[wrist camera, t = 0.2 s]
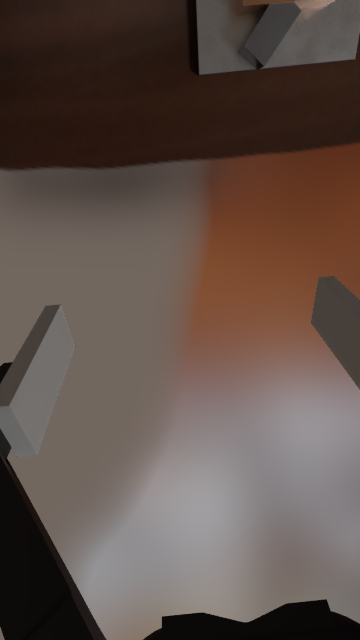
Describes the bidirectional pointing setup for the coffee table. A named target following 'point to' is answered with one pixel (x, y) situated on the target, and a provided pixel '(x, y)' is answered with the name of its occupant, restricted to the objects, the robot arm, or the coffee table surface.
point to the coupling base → (292, 48)
